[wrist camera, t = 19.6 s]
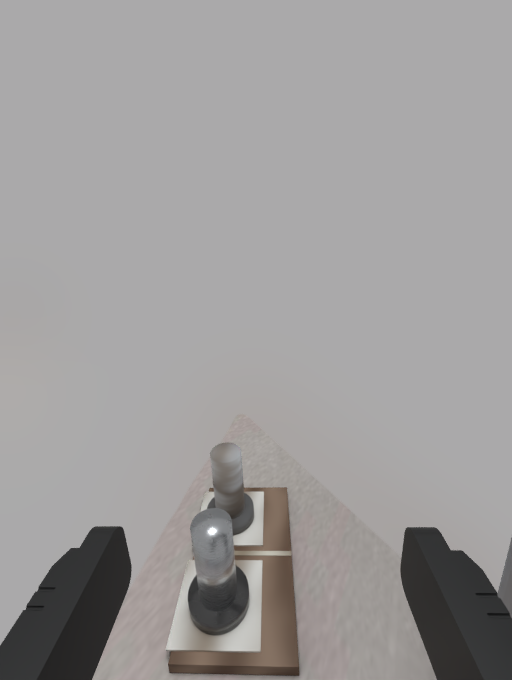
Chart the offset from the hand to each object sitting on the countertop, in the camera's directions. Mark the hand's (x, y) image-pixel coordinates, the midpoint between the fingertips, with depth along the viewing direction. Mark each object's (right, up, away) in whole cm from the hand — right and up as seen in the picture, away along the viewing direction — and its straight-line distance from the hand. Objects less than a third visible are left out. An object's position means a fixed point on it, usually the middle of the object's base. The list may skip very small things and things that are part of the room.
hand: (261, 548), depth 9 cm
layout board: (-2, -21, +31) cm, 38 cm away
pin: (-4, -22, +26) cm, 34 cm away
